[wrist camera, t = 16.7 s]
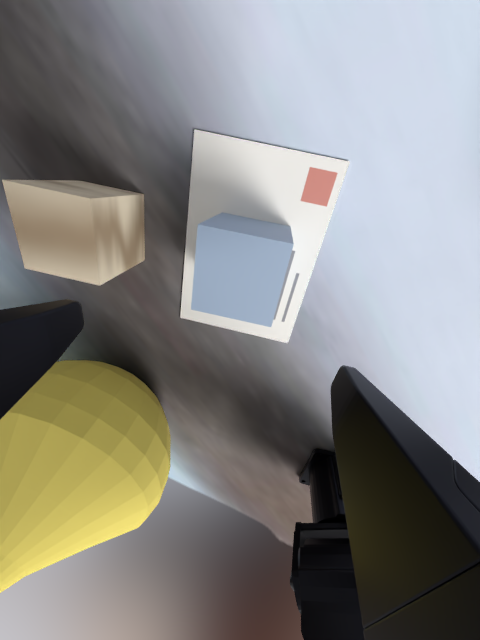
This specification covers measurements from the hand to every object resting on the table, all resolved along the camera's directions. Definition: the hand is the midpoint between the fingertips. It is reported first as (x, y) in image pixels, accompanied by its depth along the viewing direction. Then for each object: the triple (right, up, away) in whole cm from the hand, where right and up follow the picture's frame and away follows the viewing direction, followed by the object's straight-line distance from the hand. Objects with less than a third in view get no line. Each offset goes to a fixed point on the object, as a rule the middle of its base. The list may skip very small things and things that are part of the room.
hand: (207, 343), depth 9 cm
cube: (+2, +6, +11) cm, 12 cm away
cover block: (-9, +8, +11) cm, 17 cm away
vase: (-13, -8, +21) cm, 27 cm away
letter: (+2, +6, +11) cm, 12 cm away
